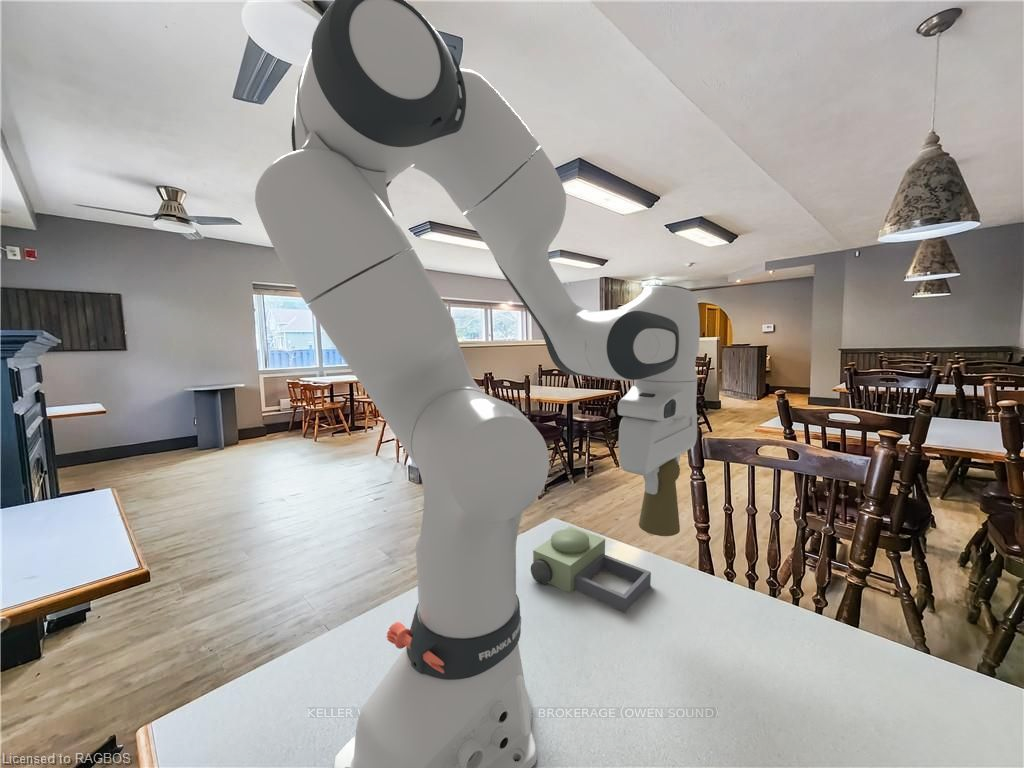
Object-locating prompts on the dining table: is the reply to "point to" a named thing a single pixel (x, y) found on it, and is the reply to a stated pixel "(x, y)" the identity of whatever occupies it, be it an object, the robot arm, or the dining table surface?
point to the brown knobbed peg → (662, 504)
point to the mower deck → (586, 568)
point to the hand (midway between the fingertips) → (660, 487)
